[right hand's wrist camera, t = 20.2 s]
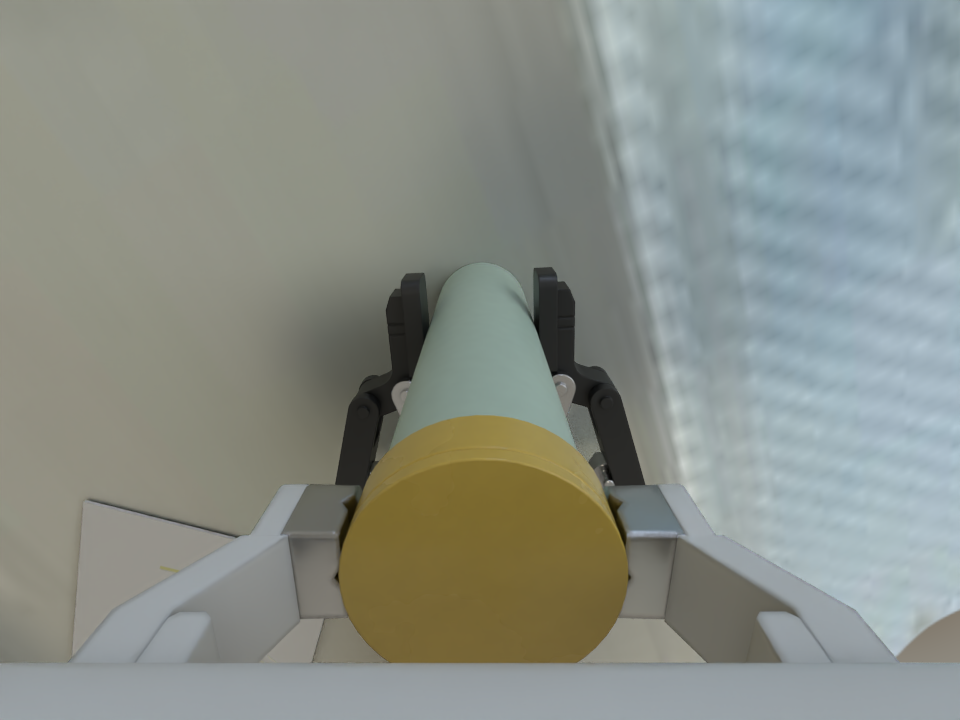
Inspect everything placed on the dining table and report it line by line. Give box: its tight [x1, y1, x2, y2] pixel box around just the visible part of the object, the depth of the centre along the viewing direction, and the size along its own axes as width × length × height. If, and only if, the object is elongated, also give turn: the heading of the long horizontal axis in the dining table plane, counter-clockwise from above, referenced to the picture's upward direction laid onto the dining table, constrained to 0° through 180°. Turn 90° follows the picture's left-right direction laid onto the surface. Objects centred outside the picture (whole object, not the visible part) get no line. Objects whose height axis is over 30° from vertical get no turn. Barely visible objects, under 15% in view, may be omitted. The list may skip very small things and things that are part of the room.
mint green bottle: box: [389, 263, 577, 450], centre depth 18 cm, size 4×4×18 cm
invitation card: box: [72, 500, 324, 663], centre depth 35 cm, size 21×1×15 cm
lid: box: [338, 415, 628, 663], centre depth 10 cm, size 5×5×2 cm
